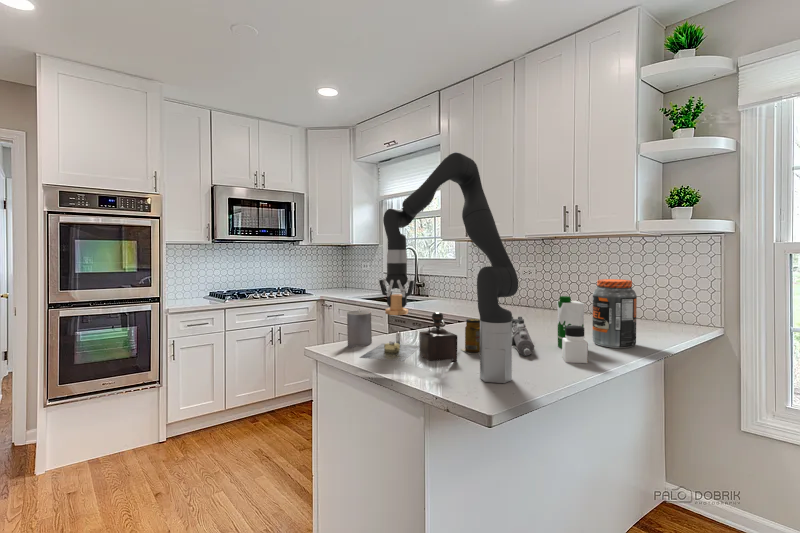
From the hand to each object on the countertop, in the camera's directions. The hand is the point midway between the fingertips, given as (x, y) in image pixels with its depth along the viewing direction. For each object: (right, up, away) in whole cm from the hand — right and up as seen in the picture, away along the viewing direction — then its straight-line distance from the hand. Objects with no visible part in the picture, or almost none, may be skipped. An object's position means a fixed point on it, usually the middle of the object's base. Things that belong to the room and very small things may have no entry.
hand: (396, 306), depth 165 cm
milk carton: (+67, -17, +2) cm, 69 cm away
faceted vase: (0, -3, 0) cm, 3 cm away
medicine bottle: (+61, -17, -16) cm, 65 cm away
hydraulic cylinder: (+48, -17, +5) cm, 51 cm away
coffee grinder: (+15, -18, -16) cm, 28 cm away
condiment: (+29, -17, -2) cm, 34 cm away
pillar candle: (-15, -17, +9) cm, 24 cm away
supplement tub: (+86, -16, +8) cm, 88 cm away
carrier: (-2, -17, -6) cm, 18 cm away
